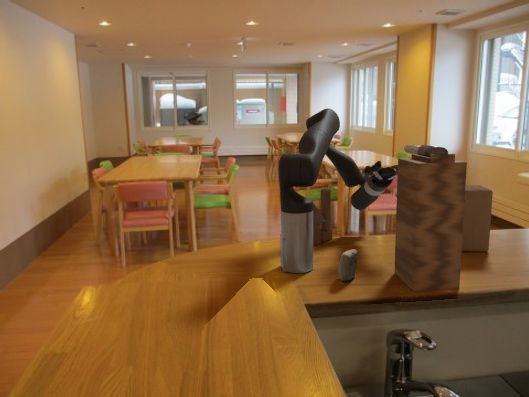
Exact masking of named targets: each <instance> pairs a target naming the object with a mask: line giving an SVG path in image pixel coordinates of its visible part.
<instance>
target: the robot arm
mask: <svg viewBox="0 0 529 397" xmlns="http://www.w3.org/2000/svg"><path fill="white" fill-rule="evenodd" d="M305 126H306V131H305V132H304V133H303V134H302V136H301V137H300V139H299V141H298V144H297V145H298V152H299V153H284V154H282V155H281V156H280V158H279V161H278V183H279V185H278V186H279V201H280V232H281V233H280V236H279V238H280V240H279V245H280V267H281V270H282V272H283V273H290V274H291V273H292V274H303V273H308V272H311V271H312V270H314V263H315V262H314V245H313V205H314V202H313V200H312V199H311V198H308V197H306V196H303V195H302V194H300V193H299V192H297V191H296V190H295V188H308V187H309V188H310V187H312V186H315V184H316V183H317V181H318V178H319V175H320V171H321V167H322V163H323V160H324V158H325V157H327V158H328V159H329V162H331V163H332V165H333V166H334V167H335V169H336V170H337V172H338V174H339V175H340V177H341V179H342V181H343V182H344V185H346V187H347V188H354V187H356V186H359V187H358V189H356V191H354V192H353V193H352V194H351V197H350V203H351V205H352V207H353V208H354V209H355V210H358V211H364V210H366V209H367V208H368V207H369V206H371V205H372V204H374V203H375V202H376V201H377V200H378V199H379V196H380V195H381V194H383V193H384V192H385V191H386V190H387V189H388V188H389V187H390V186H391V184H392V183H393V180H394V179H396V178H397V176H398V164H394V165H392V166H387V167H385V166H382V161H381V160H377V161H376V162H375V163H373V164H372V165H371V166H370V165H366V166H365V167H364V169H363V171H362V172H361V170H360V168H359V167H358V165H357V163H356V162H355V160H354V159H353V158H352V157H351V156H350V155H348V154H346V153H344V152H342V151H341V150H339V149H337V148H336V147H334V146H332V145H331V143H332V140H333V139H334V136H335V135H336V134H337V133H338V131H339V130H340V128H341V121H340V117H339V115H338V114H337V112H336V110H334V109H332V108H323V109H322V110H320V111H318V112H317V113H315V114H313V115H311V116H310V117H308V118H307V119H306V121H305Z"/></svg>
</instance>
